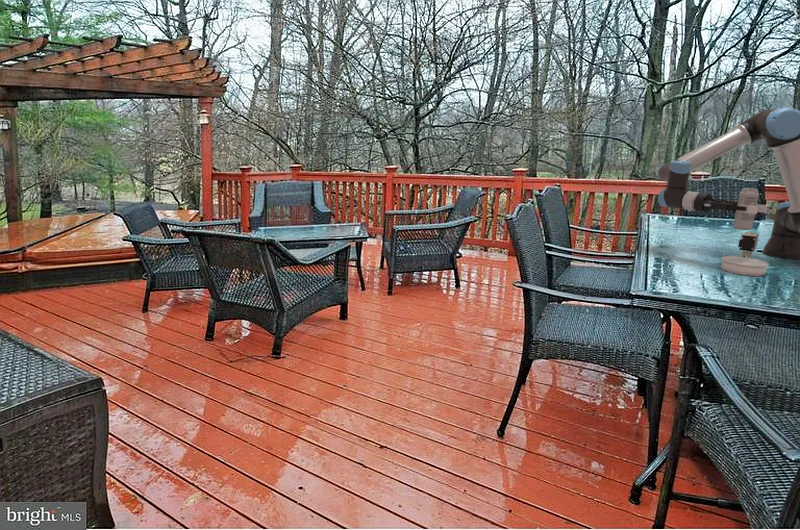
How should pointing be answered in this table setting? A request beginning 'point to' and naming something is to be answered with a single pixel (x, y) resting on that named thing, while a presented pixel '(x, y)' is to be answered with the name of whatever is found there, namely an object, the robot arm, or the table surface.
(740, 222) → the energy drink can
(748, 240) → the pneumatic valve
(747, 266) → the pedestal
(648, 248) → the table surface
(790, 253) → the robot arm
